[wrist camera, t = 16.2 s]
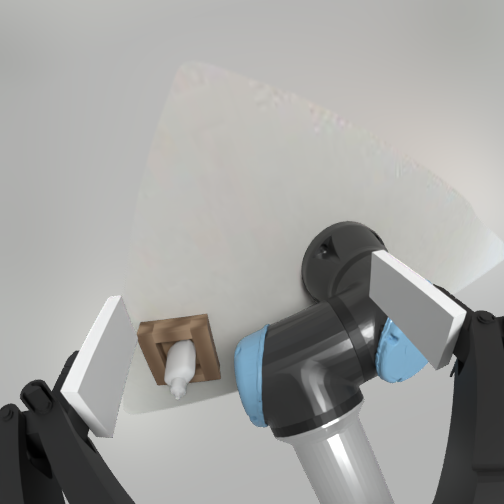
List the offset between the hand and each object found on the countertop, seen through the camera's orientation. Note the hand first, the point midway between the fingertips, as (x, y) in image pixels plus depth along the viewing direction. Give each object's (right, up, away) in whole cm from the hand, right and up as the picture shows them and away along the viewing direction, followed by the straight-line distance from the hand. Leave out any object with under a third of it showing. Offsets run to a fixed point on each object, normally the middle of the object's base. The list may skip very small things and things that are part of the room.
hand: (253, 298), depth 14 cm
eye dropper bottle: (-13, -15, +34) cm, 39 cm away
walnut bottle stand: (-13, -15, +35) cm, 40 cm away
